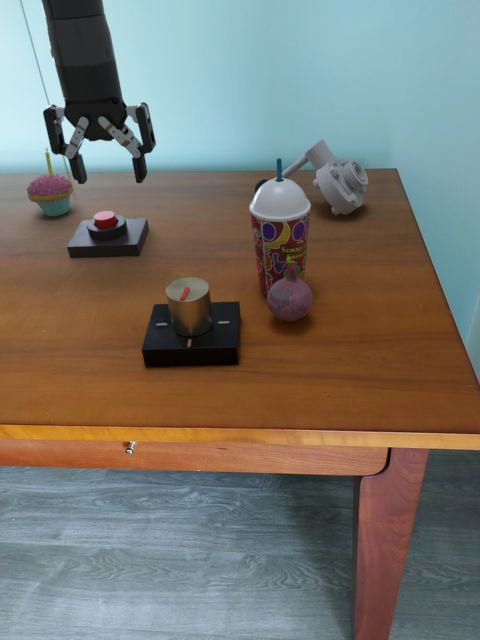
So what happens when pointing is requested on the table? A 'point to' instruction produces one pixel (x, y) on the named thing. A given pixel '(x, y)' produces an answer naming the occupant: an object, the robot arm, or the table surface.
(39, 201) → the cupcake
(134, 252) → the box
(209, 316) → the pointer knob
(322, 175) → the valve
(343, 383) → the table surface
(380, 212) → the table surface
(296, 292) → the vegetable
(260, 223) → the smoothie
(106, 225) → the button
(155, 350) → the dial panel
